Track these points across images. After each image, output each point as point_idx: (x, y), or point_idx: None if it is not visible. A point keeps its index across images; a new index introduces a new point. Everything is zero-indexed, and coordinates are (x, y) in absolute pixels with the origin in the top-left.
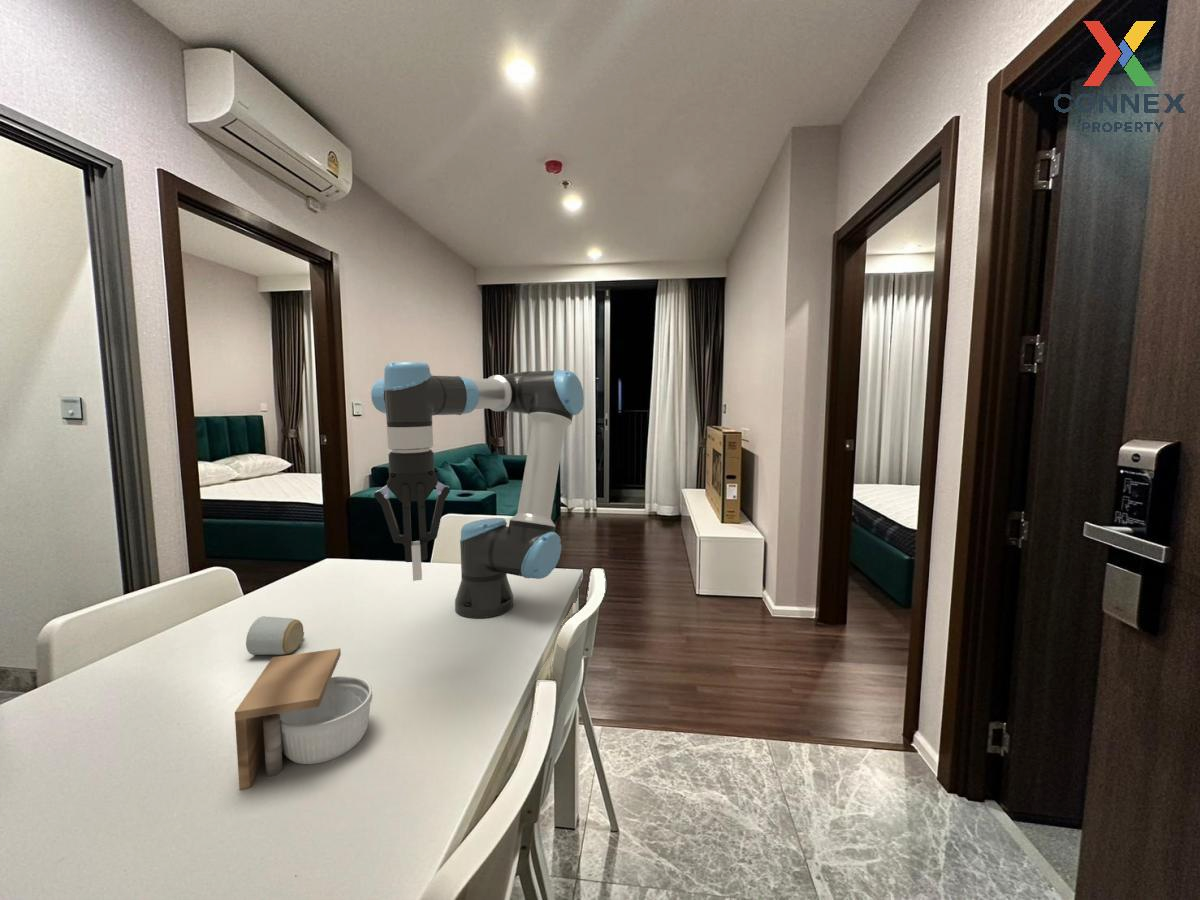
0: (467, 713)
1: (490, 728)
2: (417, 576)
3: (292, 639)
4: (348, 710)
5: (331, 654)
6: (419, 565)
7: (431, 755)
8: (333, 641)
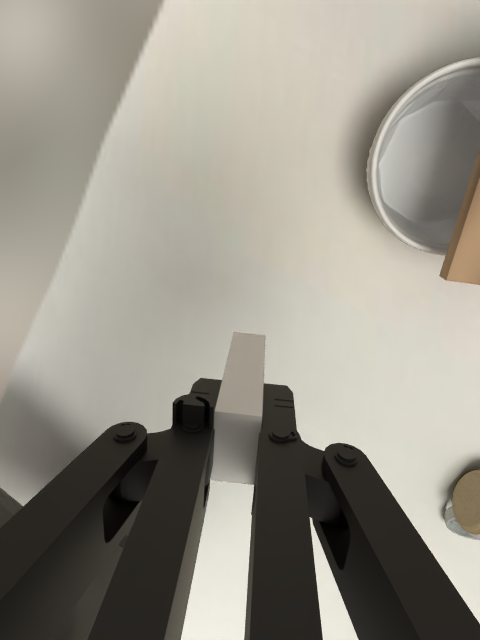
0: (192, 139)
1: (157, 68)
2: (248, 339)
3: (475, 491)
4: (397, 214)
5: (470, 254)
6: (234, 357)
7: (267, 30)
8: (394, 484)
